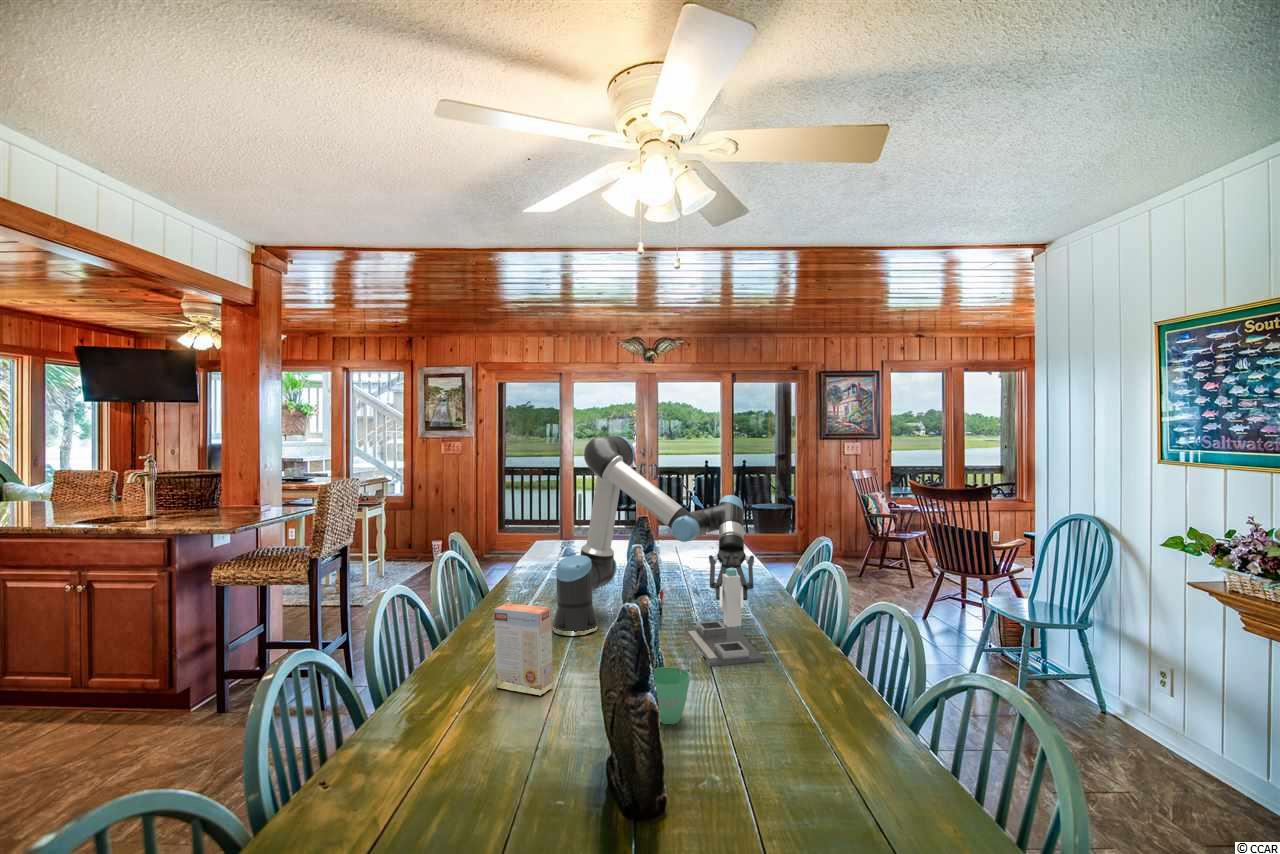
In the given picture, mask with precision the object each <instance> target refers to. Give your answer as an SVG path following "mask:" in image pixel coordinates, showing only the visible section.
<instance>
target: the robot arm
mask: <svg viewBox="0 0 1280 854" xmlns="http://www.w3.org/2000/svg"><path fill="white" fill-rule="evenodd" d="M635 457H636V450H635V447H634V445H633V444H632V442H631V441H630V440H629V439H627V438H626V437H624V436H621V435H607V436H602V435H601V436H596V437H593V438H592V439H590V441H588V442H587V444H586V445H585V447H584V451H583V458H584V461H585V464H586V465H587V467H588V468H589V469H590V471H592V472H593V473H594V475H595V477H596V482H595V490H594V495H593V501H592V507H591V515H590V520H589V527H588V532H587V540H586V543H585V544H584V545H583V546H582V547H581V548H580V554H577V555H576V554H575V555H571V556H566V557H564V558H562V559H560V560H558V562H557V564H556V571H555V577H556V601H557V602H556V604H557V605H556V610H555V611H556V612H555V615H554V617H553V621H552V625H553V627H554V628H556V629H559V630H562V631H574V632H577V631H585V630H589V629H592V628H595V627H596V626H597V625H598V626H599V620H598V618H597V614H596V612H595V609H594V605H593V591H596V590H597V589H599V588H602V587H605V586H606V585H607V584H609V583H610V582H611V581H612V580H613V579H614V577H615V576H616V572H617V569H618V568H617V561H616V559H615V557H614V556H615V551H614V549H613V548H612V542H613V536H614V535H613V534H614V530H615V529H614V528H615V523H616V518H617V517H616V516H617V512H618V511H617V509H618V505H619V504H618V503H619V498H620V493H621V492H620V491H622V492H623V493H625V494H626V495H627V496H629V497H630V498H631V499H632V500H633V501H635V502H636V503H638V504H639V505H640V506H641V507H642V508H643V509H645V510H646V511H648V512H649V513H650V514H652V516H654V517H655V518H656V519H658V520H659V521H660V522H661V523H663V524H664V525H666V527H667V528H668V529H670V530H671V533H672V535H673V537H674V538H675V539H676V540H677V541H679V542H682V543H687V542H692V541H695V539H696V538H698V537H701V536H703V535H705V534H708V533H711V532H715V531H718V539H719V540H718V552H717V554H716V555H711V554H710V555H708V560H709V561H708V562H709V565H710V566H709V586H710V587H709V588H710V589H714V590H715V599H716V601H717V600H718V601H719V612H720V613H723V584H722V574H726V569H733V568H734V569H735V570H736V573H737V575H739V576H740V590H741V591H740V597H741V613H744V611H745V610H744V608H745V607H744V605H745V604H744V601H748V591H749V590H753V589H754V570H753V568H754V567H753V566H754V564H755V556H754V555H750V556H749V555H747V554H746V552H745V541H744V540H745V539H744V537H745V536H744V534H745V533H744V513H745V512H744V505H743V501H742V499H741V498H740V497H738V496H736V495H734V494H732V495H731V494H728V495H724V496H723V497H721V498H720V499H719V503H718V505H715V506H711V507H708V508H704V509H698V510H694V511H688V510H687V509H686V508H684V507H683V506H682V505H680V503H678V502H677V501H675V500H674V499H673V498H671V497H670V496H669V495H668V494H666V493H665V492H664V491H662V490H661V489H660V488H659V487H657V486H656V485H654V484H653V483H652V482H650V481H649V480H648V479H647V478H646V477H644V476H643V475H642V474H640V473H639V472H638V471H636V470H635V469H633V467H631V465H632V464H633V463H634V461H635ZM717 561H719V563H720V564H721V566H720V570H719V573H718V576H717V580H716V581H715V579H716V578H715V577H716V576H715V575H716V564H717ZM744 561H746V564H747V565H748V566H747V567H748V571H747V572H748V582H747V580H746V577H745V575H744V572H743V571H744V570H743V568H742V564H743V563H744Z"/></svg>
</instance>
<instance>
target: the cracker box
mask: <svg viewBox="0 0 1280 854" xmlns="http://www.w3.org/2000/svg"><path fill="white" fill-rule="evenodd" d="M493 610H494V611H493V612H494V613H493V614H494V644H495V645H494V650H495V651H494V653H495V655H494V656H495V662H494V663H495V680H496V679H497V680H500V681H505V682H508V683H513V684H517V685H522V686H526V687H530V688H534V689H539V690H542V689H543V688H545V687H546V686H548V685H549V684H551V683H552V682H553V681H554V678H553V677H554V675H553V674H554V671H553V670H554V669H553V643H552V642H553V639H552V637H553V636H552V633H553V629H552V608H551V607H547V606H546V607H545V606H537V605H530V604H529V605H528V604H519V603H512V602H510V603H509V602H507V603H504V604H502V605H499V606H497V607H495V608H494V609H493ZM553 683H554V682H553Z"/></svg>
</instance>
